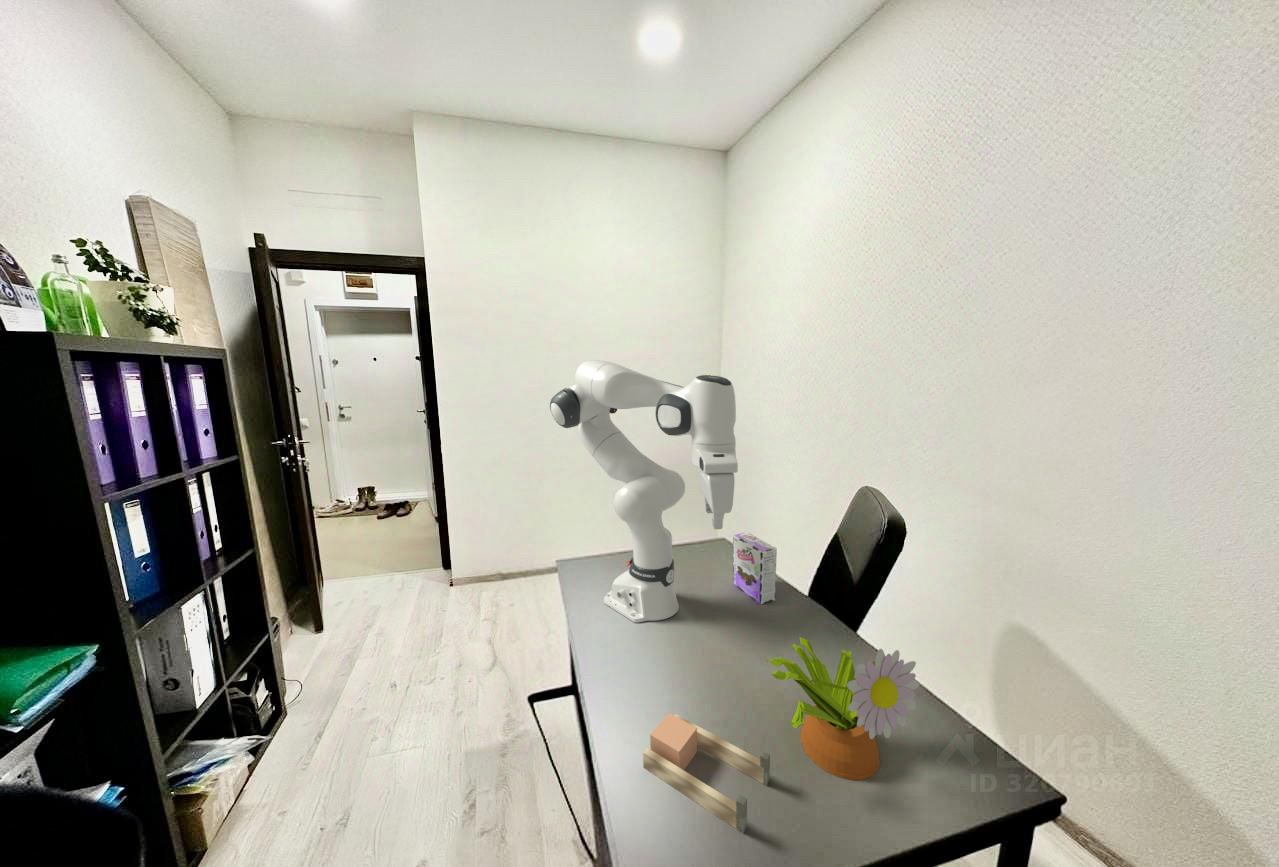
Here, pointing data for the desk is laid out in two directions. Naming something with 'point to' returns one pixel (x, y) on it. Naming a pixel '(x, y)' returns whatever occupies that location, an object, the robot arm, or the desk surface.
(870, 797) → the desk surface
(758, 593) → the candy box
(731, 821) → the chute
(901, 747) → the desk surface
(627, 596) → the robot arm
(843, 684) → the decorative plant
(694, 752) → the block
